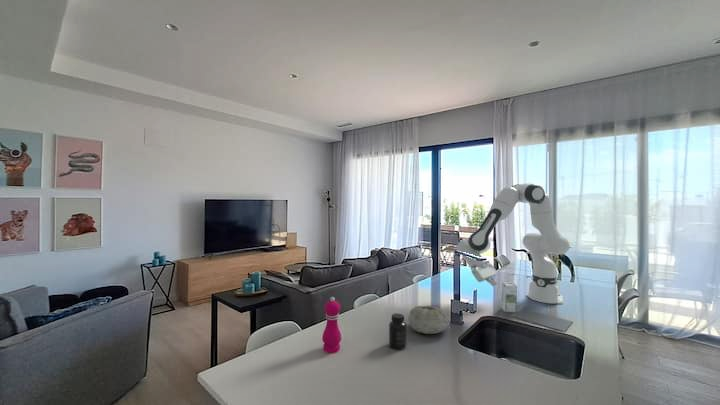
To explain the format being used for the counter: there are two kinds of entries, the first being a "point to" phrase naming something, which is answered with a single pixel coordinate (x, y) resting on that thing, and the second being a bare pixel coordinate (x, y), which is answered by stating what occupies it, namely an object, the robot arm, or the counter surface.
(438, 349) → the counter surface
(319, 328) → the counter surface
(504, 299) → the syrup box
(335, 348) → the pepper mill
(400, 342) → the supplement bottle
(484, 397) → the counter surface
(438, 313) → the decorative shell
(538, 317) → the charcoal mat
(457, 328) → the counter surface
